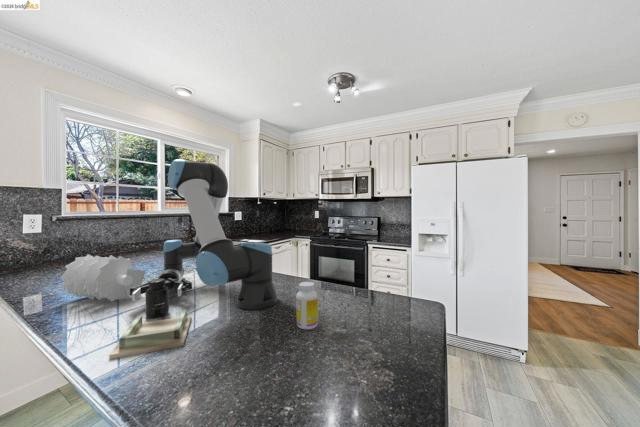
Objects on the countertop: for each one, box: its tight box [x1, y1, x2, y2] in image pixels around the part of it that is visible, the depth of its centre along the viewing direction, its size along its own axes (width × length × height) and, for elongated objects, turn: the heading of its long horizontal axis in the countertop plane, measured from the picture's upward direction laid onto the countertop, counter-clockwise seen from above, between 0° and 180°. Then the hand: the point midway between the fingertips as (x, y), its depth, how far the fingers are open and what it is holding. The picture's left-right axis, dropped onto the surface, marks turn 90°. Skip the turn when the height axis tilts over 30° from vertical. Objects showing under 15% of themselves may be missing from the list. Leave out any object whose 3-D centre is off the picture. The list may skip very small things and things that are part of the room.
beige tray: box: [108, 309, 192, 360], centre depth 73 cm, size 18×16×4 cm
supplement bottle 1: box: [144, 278, 170, 319], centre depth 88 cm, size 7×7×12 cm
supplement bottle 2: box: [295, 281, 319, 330], centre depth 79 cm, size 7×7×13 cm
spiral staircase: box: [60, 253, 146, 302], centre depth 105 cm, size 18×18×25 cm
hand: (156, 295), depth 89 cm, fingers open, 13 cm apart
